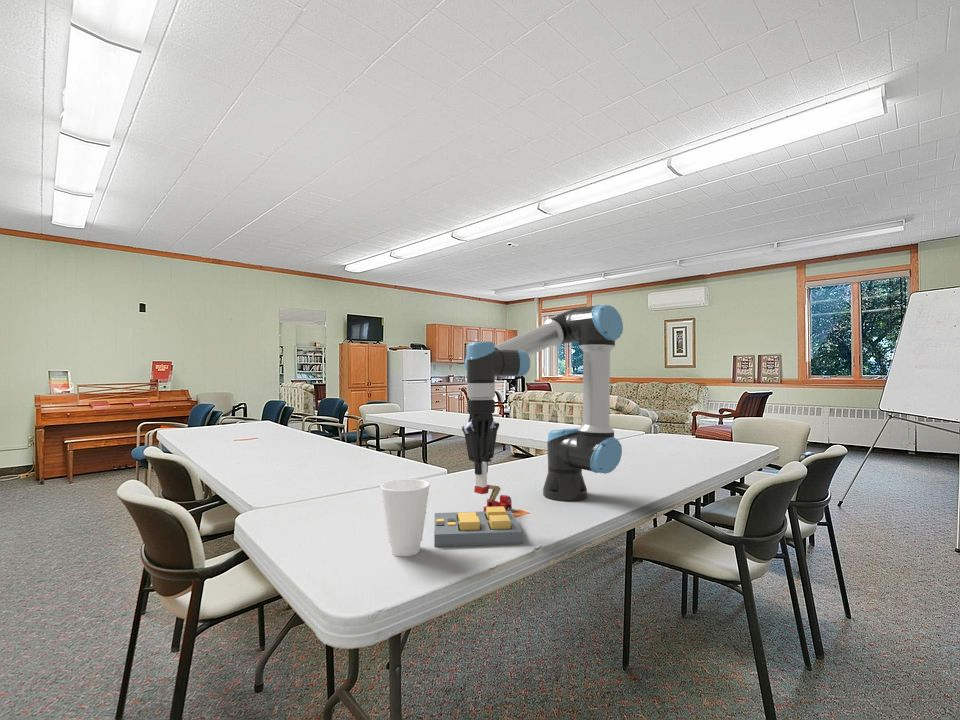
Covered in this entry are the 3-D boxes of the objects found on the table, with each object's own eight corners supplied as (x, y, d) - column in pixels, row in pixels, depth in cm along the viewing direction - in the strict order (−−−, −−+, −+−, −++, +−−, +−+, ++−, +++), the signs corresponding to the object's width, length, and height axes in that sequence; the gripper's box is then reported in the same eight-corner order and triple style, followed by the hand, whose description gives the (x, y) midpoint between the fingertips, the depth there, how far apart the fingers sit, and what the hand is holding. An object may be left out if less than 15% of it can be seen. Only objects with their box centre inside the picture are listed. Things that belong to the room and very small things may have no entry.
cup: (386, 564, 108) (386, 493, 109) (375, 546, 119) (375, 481, 119) (436, 555, 113) (436, 487, 113) (421, 539, 124) (421, 477, 124)
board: (511, 521, 139) (511, 509, 139) (522, 543, 121) (522, 530, 121) (434, 523, 137) (434, 511, 137) (434, 546, 119) (434, 533, 119)
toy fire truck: (513, 509, 150) (512, 478, 150) (481, 519, 140) (481, 486, 140) (505, 507, 152) (505, 477, 152) (474, 517, 143) (473, 484, 143)
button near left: (507, 526, 128) (507, 514, 128) (510, 533, 123) (510, 520, 123) (489, 527, 128) (489, 515, 128) (491, 533, 123) (491, 521, 123)
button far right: (475, 523, 135) (475, 512, 135) (477, 529, 130) (477, 517, 130) (457, 524, 135) (457, 512, 135) (458, 529, 130) (458, 518, 130)
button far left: (503, 517, 136) (503, 506, 136) (506, 523, 131) (506, 511, 131) (486, 518, 135) (486, 506, 136) (488, 523, 130) (488, 512, 131)
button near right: (478, 527, 127) (478, 515, 127) (479, 534, 122) (479, 521, 122) (459, 528, 127) (459, 516, 127) (460, 535, 122) (460, 522, 122)
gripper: (486, 397, 137) (486, 479, 137) (454, 399, 127) (454, 488, 127) (506, 398, 132) (507, 484, 132) (474, 400, 122) (475, 493, 122)
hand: (481, 486), depth 129 cm, fingers closed
